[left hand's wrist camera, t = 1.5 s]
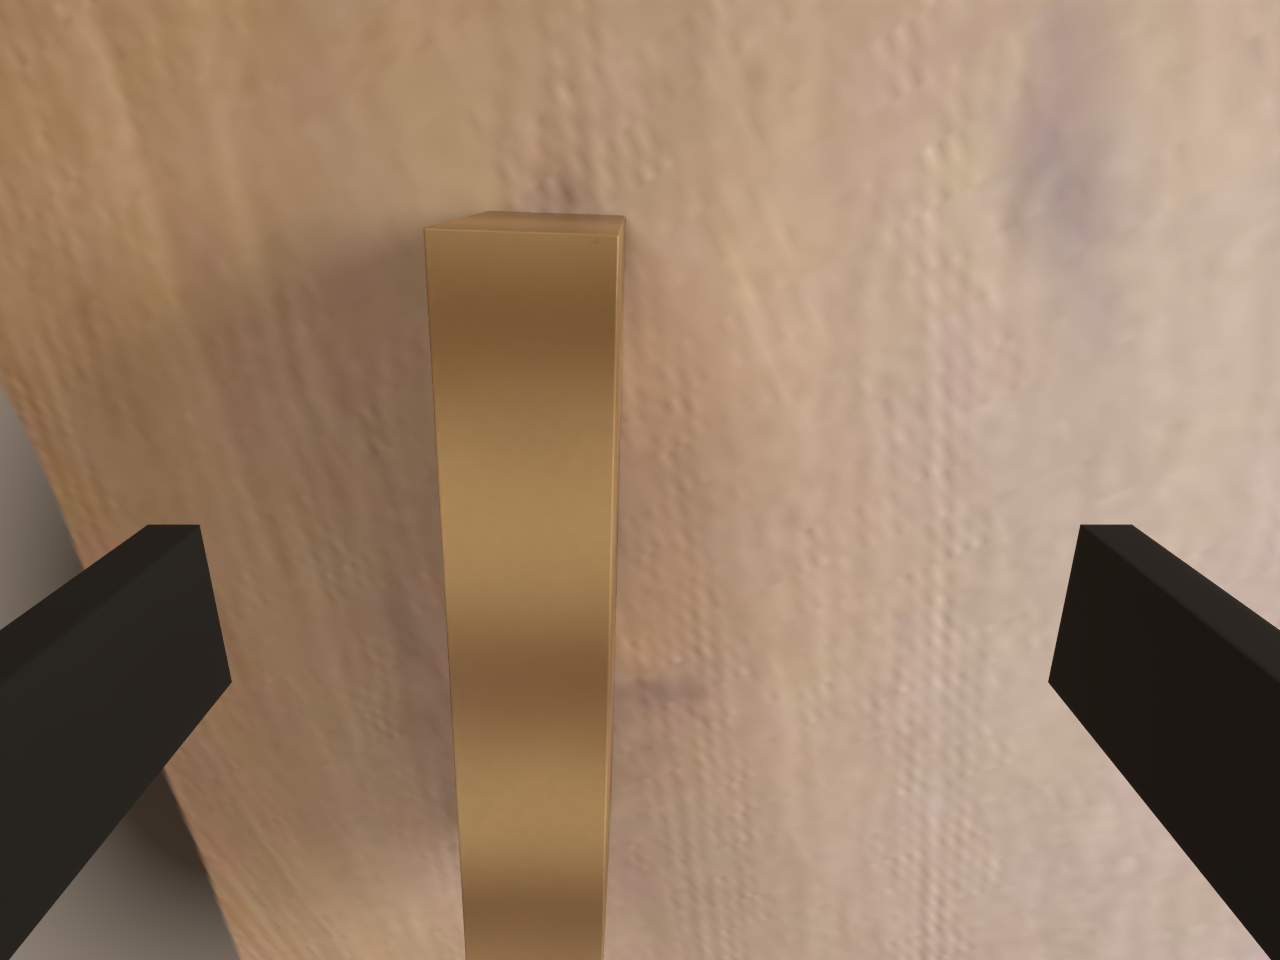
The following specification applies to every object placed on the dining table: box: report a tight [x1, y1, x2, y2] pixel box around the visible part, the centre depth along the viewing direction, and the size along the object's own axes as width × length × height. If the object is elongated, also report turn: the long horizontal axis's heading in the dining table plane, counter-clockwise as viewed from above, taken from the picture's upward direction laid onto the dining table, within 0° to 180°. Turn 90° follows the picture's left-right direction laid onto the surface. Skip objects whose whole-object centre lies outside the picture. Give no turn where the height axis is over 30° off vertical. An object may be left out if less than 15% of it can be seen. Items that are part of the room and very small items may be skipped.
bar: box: [424, 211, 626, 960], centre depth 27 cm, size 24×4×8 cm, turn 178°
